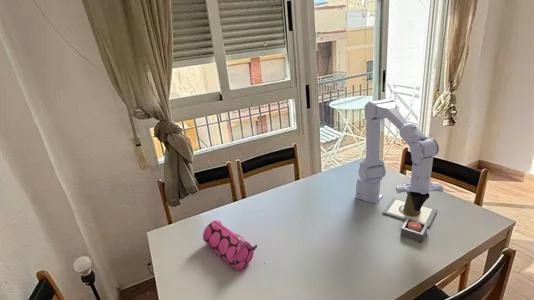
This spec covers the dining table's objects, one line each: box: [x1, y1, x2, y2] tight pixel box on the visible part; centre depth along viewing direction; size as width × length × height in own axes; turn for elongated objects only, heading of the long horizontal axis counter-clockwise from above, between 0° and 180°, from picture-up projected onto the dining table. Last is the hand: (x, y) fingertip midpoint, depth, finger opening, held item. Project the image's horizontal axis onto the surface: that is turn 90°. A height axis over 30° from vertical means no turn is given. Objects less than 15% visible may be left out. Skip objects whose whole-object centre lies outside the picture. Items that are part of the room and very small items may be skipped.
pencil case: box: [202, 219, 258, 271], centre depth 107 cm, size 21×10×10 cm, turn 44°
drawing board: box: [381, 197, 438, 229], centre depth 122 cm, size 17×13×1 cm
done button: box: [407, 222, 422, 233], centre depth 109 cm, size 4×4×2 cm
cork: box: [403, 192, 420, 216], centre depth 119 cm, size 6×6×11 cm
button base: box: [399, 218, 429, 244], centre depth 110 cm, size 7×7×4 cm
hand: (416, 209), depth 106 cm, fingers closed
